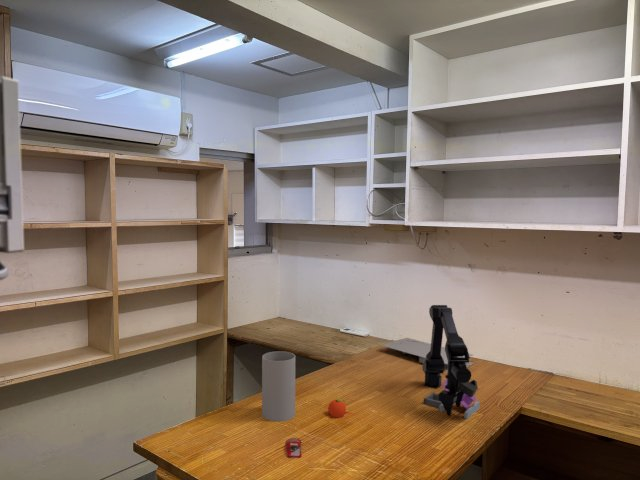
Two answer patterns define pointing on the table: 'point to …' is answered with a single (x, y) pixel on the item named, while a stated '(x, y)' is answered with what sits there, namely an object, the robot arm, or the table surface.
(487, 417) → the table surface
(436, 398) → the trap pit
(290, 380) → the cylinder vase
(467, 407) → the bracket
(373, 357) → the table surface
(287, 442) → the red labelled container
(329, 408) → the tomato
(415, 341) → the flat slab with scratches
